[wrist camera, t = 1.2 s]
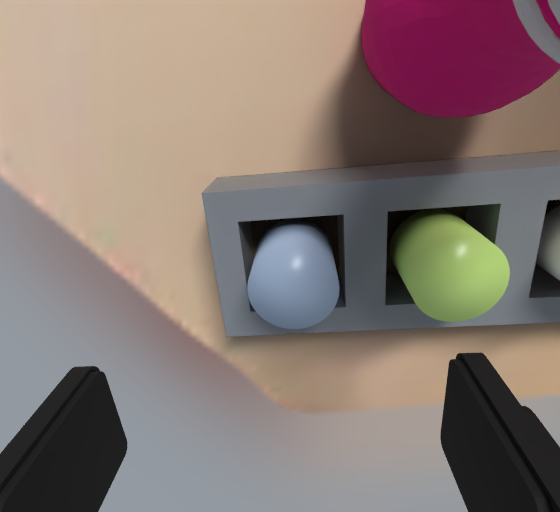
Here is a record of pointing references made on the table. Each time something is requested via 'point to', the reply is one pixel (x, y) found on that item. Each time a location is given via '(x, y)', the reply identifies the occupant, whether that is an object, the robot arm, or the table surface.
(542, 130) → the table surface
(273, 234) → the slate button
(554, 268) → the white rounded piece
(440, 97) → the pepper mill
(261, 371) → the table surface
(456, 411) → the robot arm
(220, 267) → the panel
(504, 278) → the lime button
